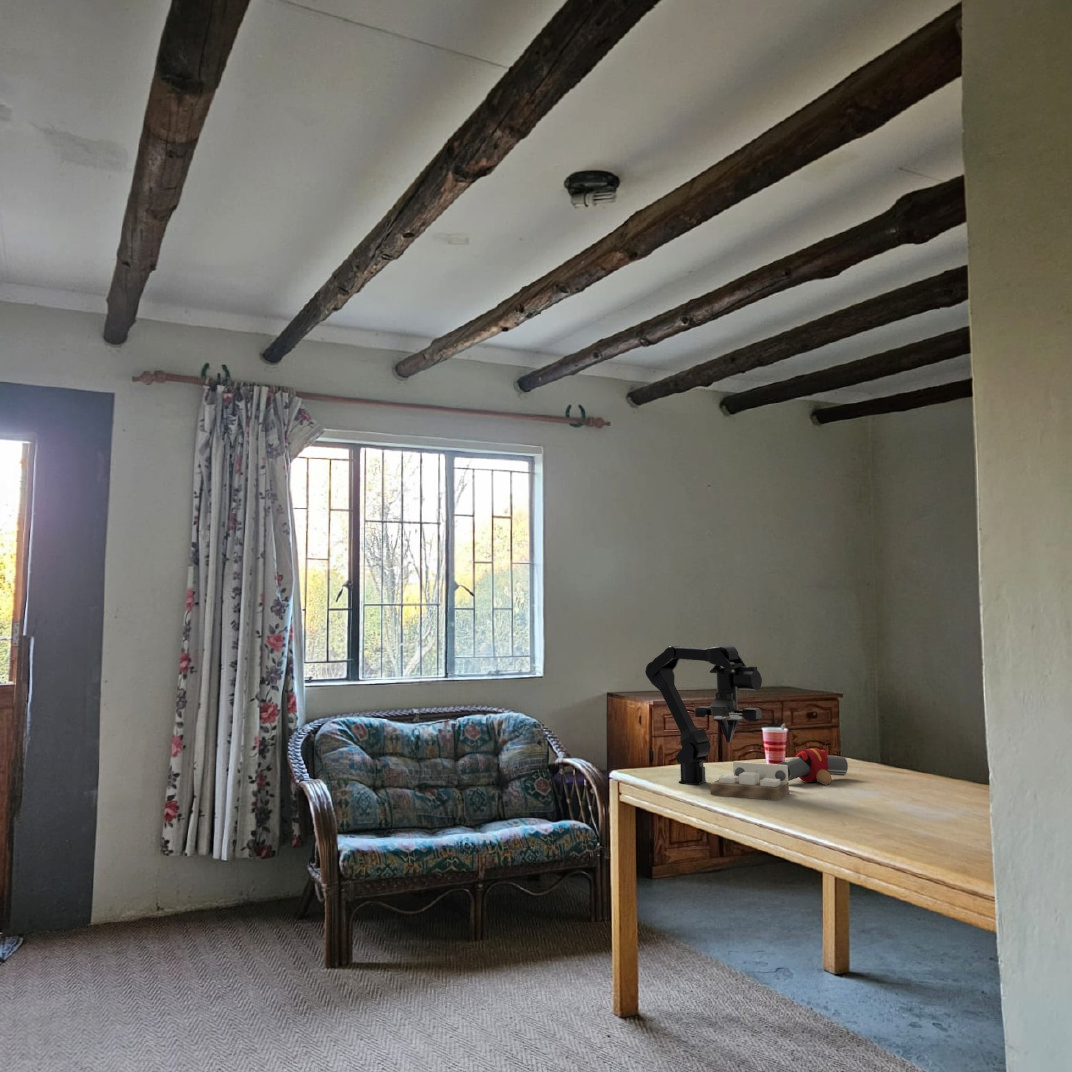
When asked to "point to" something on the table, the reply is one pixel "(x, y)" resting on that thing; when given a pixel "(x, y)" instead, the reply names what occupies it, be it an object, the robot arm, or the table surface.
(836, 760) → the toy
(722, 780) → the button left
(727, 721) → the robot arm
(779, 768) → the card
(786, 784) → the board
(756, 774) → the button mid
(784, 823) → the table surface
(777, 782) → the button right
